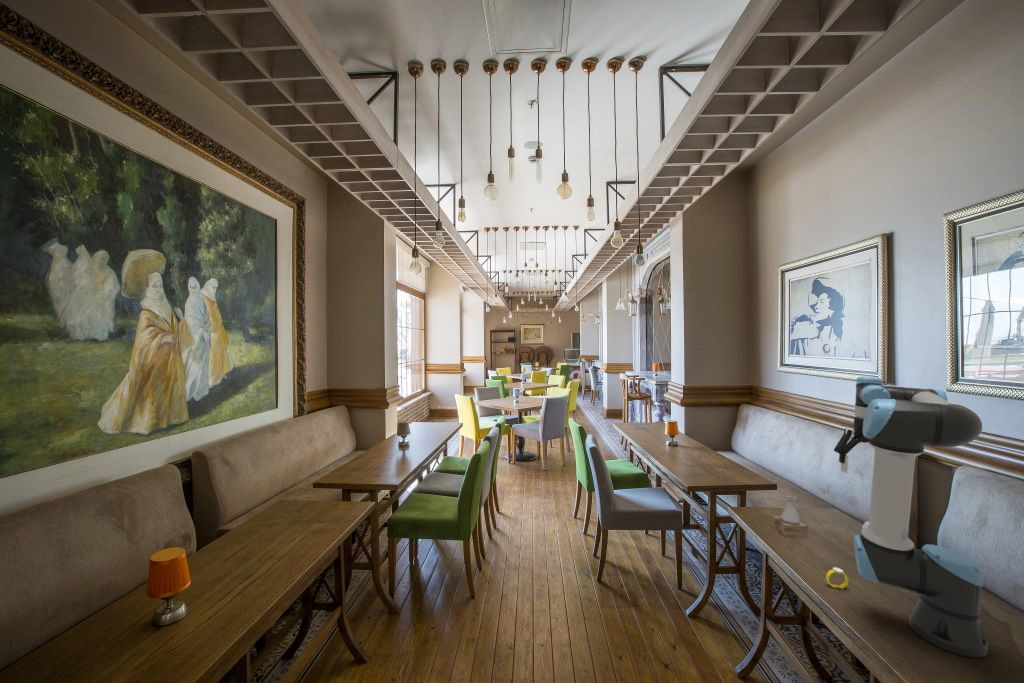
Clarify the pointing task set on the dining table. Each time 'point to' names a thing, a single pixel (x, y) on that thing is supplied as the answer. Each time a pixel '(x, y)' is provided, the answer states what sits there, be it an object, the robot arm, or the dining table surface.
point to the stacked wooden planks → (789, 528)
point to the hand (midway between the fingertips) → (863, 473)
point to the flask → (790, 512)
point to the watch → (838, 573)
